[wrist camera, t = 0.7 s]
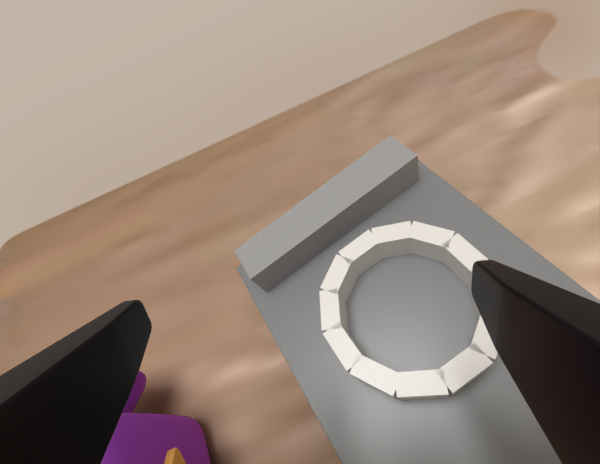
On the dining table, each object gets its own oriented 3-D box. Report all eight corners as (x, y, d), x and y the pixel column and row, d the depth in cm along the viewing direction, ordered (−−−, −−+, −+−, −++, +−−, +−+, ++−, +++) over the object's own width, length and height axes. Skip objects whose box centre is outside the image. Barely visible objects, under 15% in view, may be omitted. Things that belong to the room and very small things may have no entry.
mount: (666, 392, 16) (757, 378, 11) (422, 578, 15) (416, 639, 11) (404, 173, 26) (397, 121, 22) (255, 283, 26) (217, 253, 21)
